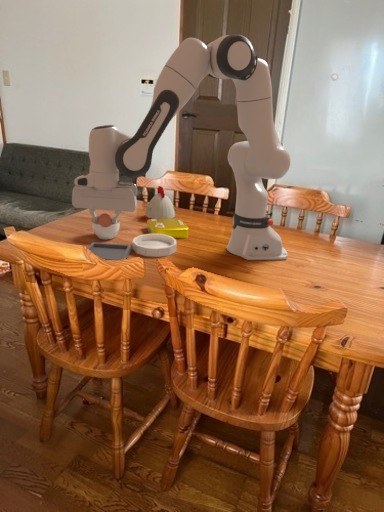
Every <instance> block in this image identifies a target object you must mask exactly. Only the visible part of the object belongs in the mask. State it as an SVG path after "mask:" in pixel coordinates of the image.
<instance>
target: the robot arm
mask: <svg viewBox="0 0 384 512" xmlns="http://www.w3.org/2000/svg"><path fill="white" fill-rule="evenodd" d="M270 73H271V72H270V68H269V64H268V63H267V61H266V60H264V59H263V58H258V56H257V54H256V53H255V49H254V46H253V45H252V42H251V41H250V40H249V39H248V38H247V37H245V36H243V35H242V34H237V33H233V34H227V35H222V36H220V37H218V38H216V39H213V40H212V41H209V42H208V43H206V44H205V42H203V41H202V40H200V39H199V38H196V37H187V38H185V39H184V40H183V41H182V42H181V43H180V44H179V45H178V46H177V47H176V49H175V50H174V51H173V52H172V54H171V56H169V58H168V59H167V61H166V63H165V64H164V66H163V68H162V70H161V71H160V73H159V75H158V78H157V80H156V82H155V85H154V89H153V94H152V95H153V96H152V101H151V104H150V108H149V110H148V111H147V113H146V115H145V117H144V118H143V121H142V122H141V123H140V126H139V127H138V129H137V130H136V132H135V134H134V135H133V136H130V135H129V134H127V133H125V132H124V131H121V130H120V129H119V128H118V127H117V126H115V125H112V124H106V125H99V126H95V127H93V128H92V129H91V130H90V132H89V137H88V158H89V160H90V164H89V169H88V170H89V173H86V174H82V175H80V176H77V177H75V179H74V180H73V184H74V186H73V188H72V192H71V193H72V194H71V204H72V206H73V208H75V209H77V208H78V209H89V214H90V215H91V218H92V217H93V222H98V218H99V216H96V215H97V214H96V212H95V211H96V210H100V211H101V210H103V211H114V215H116V216H115V217H113V218H112V224H117V218H118V216H119V217H120V215H121V212H127V213H128V212H129V213H133V212H135V211H136V210H137V208H138V201H137V196H138V186H137V185H136V184H135V183H133V182H132V181H128V182H127V181H123V180H120V173H121V175H123V176H124V177H127V178H131V179H137V178H142V177H143V176H144V175H146V173H148V172H149V170H150V169H151V166H152V159H153V152H154V149H155V147H156V146H157V144H158V143H159V141H160V139H161V137H162V135H163V134H164V132H165V130H166V129H167V127H168V125H169V124H170V122H171V121H172V119H173V118H175V116H176V115H177V114H178V113H179V112H180V111H182V109H183V107H185V106H186V104H187V103H188V102H189V101H190V99H191V98H192V96H193V95H194V94H195V92H196V91H197V89H198V87H199V86H200V84H201V82H202V81H203V80H204V78H205V77H207V76H208V77H211V78H213V79H216V80H217V79H220V80H231V81H232V82H233V83H234V87H235V91H236V92H235V94H236V95H235V96H236V109H237V122H238V127H239V129H240V130H241V132H242V133H243V134H244V135H245V138H246V140H244V141H238V142H235V143H233V145H231V146H230V148H229V150H228V153H227V162H228V164H229V166H230V167H231V169H232V172H233V176H234V180H235V185H236V198H235V199H236V202H235V208H234V209H235V211H234V212H233V216H232V223H231V226H232V227H231V228H232V230H231V234H230V238H229V241H228V243H227V246H226V250H227V251H228V252H229V253H231V254H233V255H235V256H238V257H241V258H243V260H244V259H245V260H247V261H258V260H259V261H260V260H261V261H263V260H267V261H268V260H271V261H273V260H275V261H277V260H286V259H287V258H288V251H287V250H286V249H285V247H283V240H282V237H281V236H280V234H278V232H276V230H275V229H273V228H272V227H271V226H273V225H274V220H273V219H272V218H271V217H269V216H268V215H267V208H268V201H269V193H268V191H267V190H266V188H265V186H264V183H263V179H264V180H280V179H282V178H283V177H284V176H285V175H286V174H287V173H288V171H289V170H290V166H291V155H290V153H289V152H288V150H287V149H286V148H285V147H284V146H283V144H282V142H281V141H280V138H279V136H278V134H277V133H278V132H277V130H276V127H275V121H274V110H273V109H274V108H273V107H274V106H273V89H272V88H273V87H272V79H271V74H270Z"/></svg>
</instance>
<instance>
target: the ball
mask: <svg viewBox="0 0 384 512" xmlns="http://www.w3.org/2000/svg"><path fill="white" fill-rule="evenodd" d="M100 214H101V215H100ZM100 214H99V215H100V216H99V218H98V222H99V224H100V225H101V226H102V227H109V226H110V225H111V224H112V217H111V216H110V215H109V214H110V213H106V212H104V213H100Z"/></svg>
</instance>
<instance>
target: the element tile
mask: <svg viewBox="0 0 384 512" xmlns="http://www.w3.org/2000/svg"><path fill="white" fill-rule="evenodd" d="M146 222H147V223H146V225H147V226H146V229H147V231H148V234H162V235H167V236H171V237H173V238H174V239H175V240H177V239H187V238H189V232H190V231H189V230H190V227H189V226H188V225H187V224H186V223H185V222H184V221H183V220H182V219H181V218H178V217H175V218H172V219H148V220H146Z"/></svg>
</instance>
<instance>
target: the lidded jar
mask: <svg viewBox="0 0 384 512" xmlns="http://www.w3.org/2000/svg"><path fill="white" fill-rule="evenodd" d="M101 214H102V213H100V214H96V216H100V215H101ZM108 214H109V215H110V216H111V217H112V218H113V217H115V216H116V215H117V214H112V213H111V214H110V213H108ZM90 219H91V226H92V230H93V233H94V234H95V235H96V236H97V238H98V239H100V240H107V241H108V240H112V239H114V238H115V237H116V235H118V233H119V231H120V228H121V227H120V226H121V225H120V224H121V217H120V215H119V216H118V218H117V224H111V225H110V226H109V227H102V226H101V225H100V224H99V222H93V217H92V216H91V218H90Z"/></svg>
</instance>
